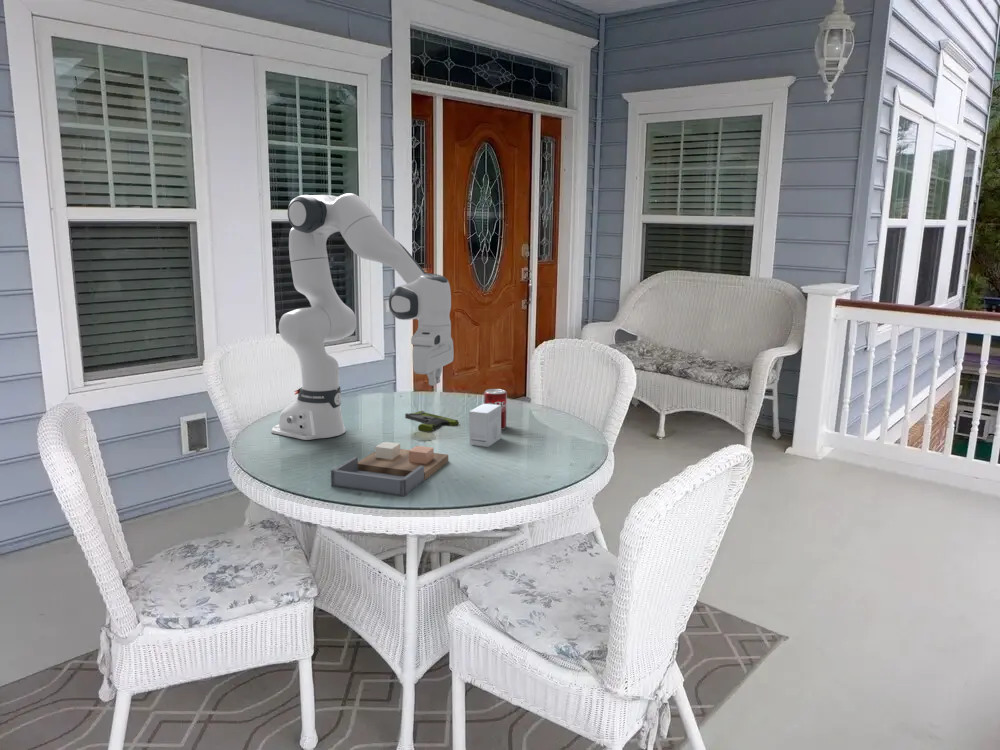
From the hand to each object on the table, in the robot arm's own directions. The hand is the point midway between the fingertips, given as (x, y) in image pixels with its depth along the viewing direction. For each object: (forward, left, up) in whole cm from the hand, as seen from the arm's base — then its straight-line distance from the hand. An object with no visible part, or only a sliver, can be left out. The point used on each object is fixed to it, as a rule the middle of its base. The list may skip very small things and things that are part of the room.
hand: (434, 384), depth 214 cm
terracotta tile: (0, -9, -19) cm, 21 cm away
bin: (-5, -24, -21) cm, 33 cm away
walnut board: (-5, -10, -21) cm, 24 cm away
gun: (-17, +32, -22) cm, 42 cm away
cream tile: (-10, -9, -19) cm, 23 cm away
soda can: (+6, +35, -21) cm, 41 cm away
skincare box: (+8, +20, -21) cm, 30 cm away
